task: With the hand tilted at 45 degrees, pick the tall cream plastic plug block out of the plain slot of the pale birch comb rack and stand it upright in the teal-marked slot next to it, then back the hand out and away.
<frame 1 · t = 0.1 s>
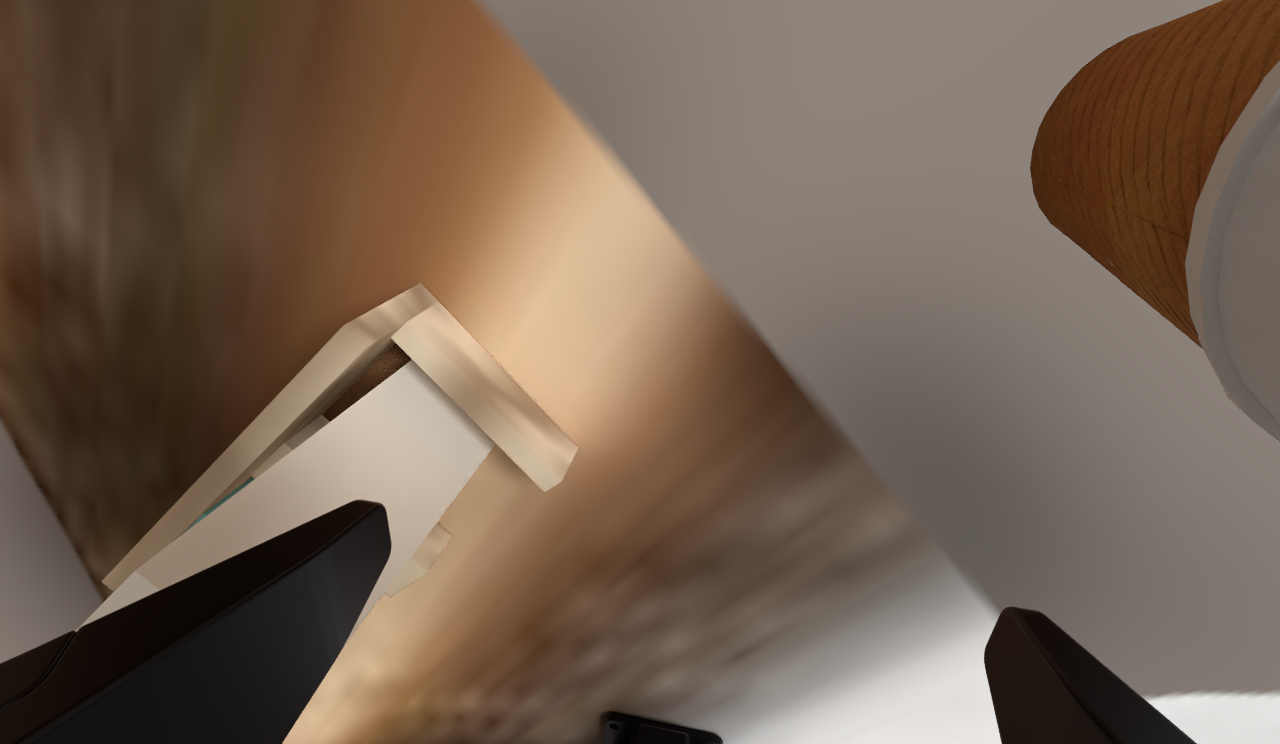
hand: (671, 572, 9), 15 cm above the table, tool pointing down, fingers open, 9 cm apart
comb rack: (360, 481, 29), on the table
disposable coffee cup: (1143, 143, 18), on the table
plug block: (427, 424, 27), on the table
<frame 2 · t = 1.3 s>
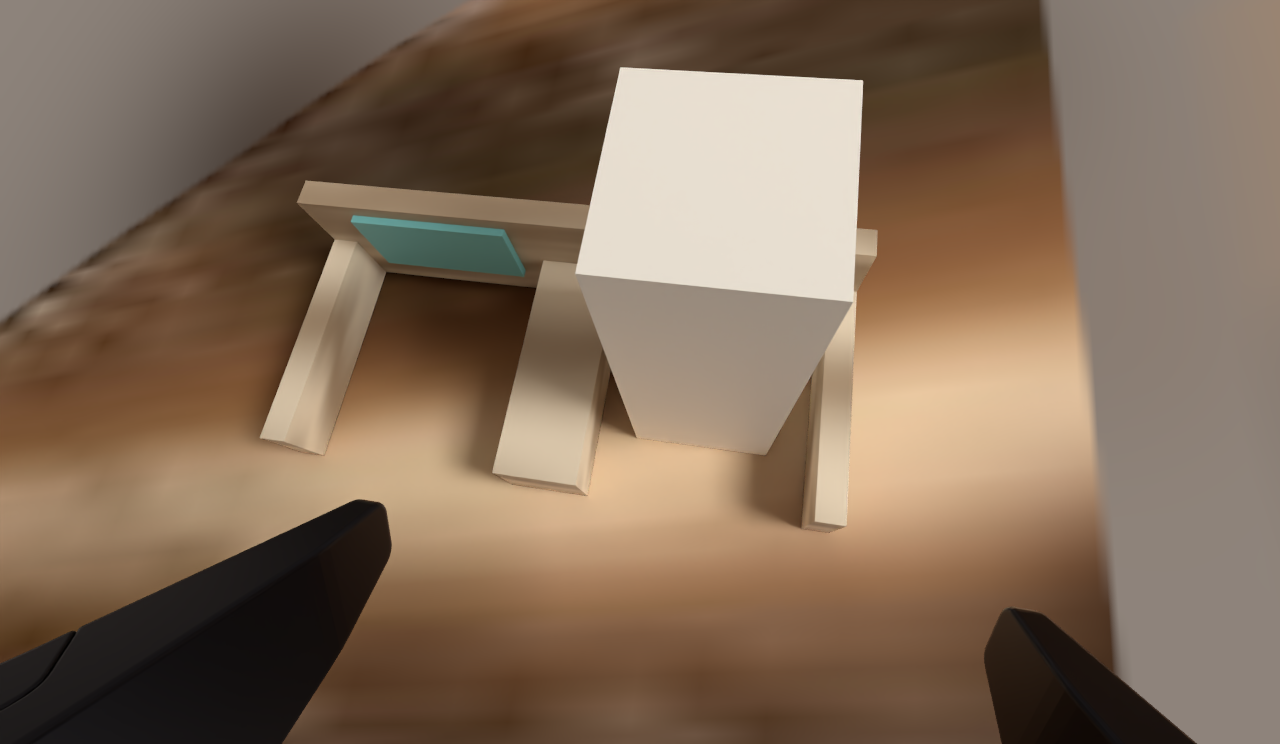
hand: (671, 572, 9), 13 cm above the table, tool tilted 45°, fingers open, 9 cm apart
comb rack: (574, 369, 24), on the table
plug block: (708, 385, 24), on the table
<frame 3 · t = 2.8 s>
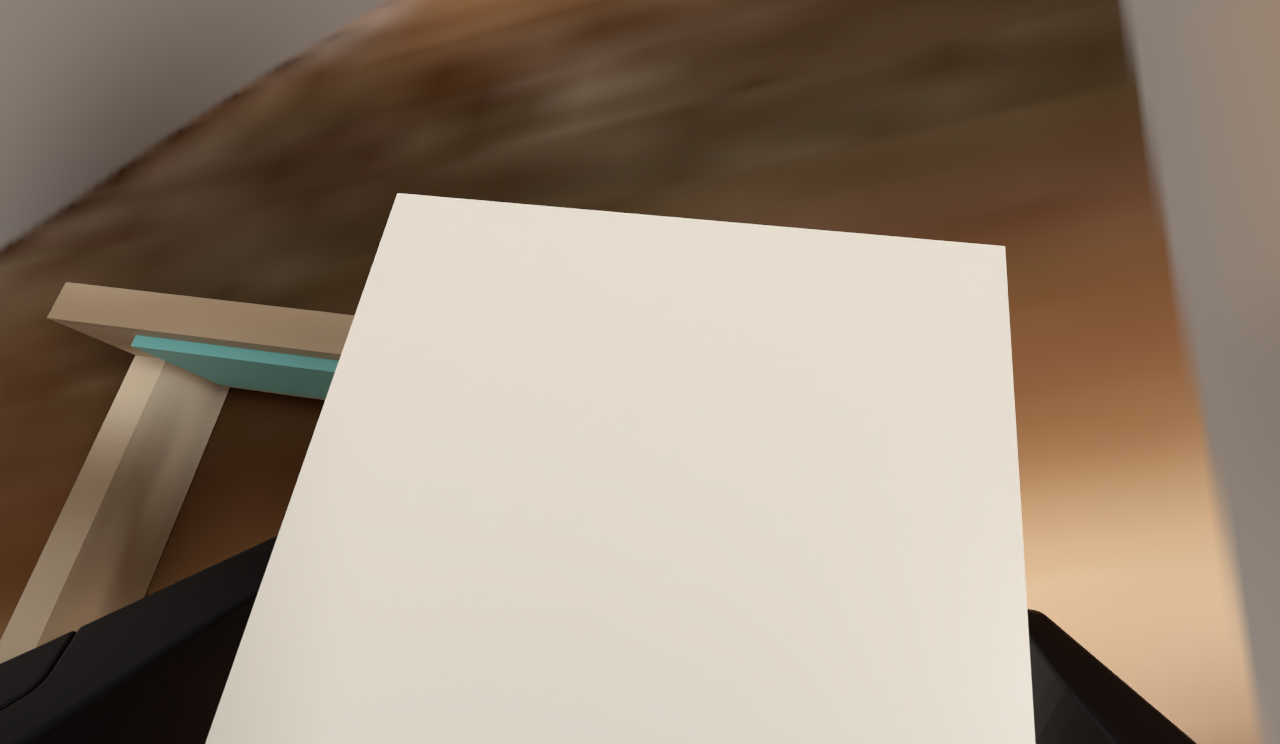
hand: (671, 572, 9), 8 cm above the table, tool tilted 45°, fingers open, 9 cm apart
comb rack: (482, 542, 17), on the table
plug block: (673, 573, 16), on the table
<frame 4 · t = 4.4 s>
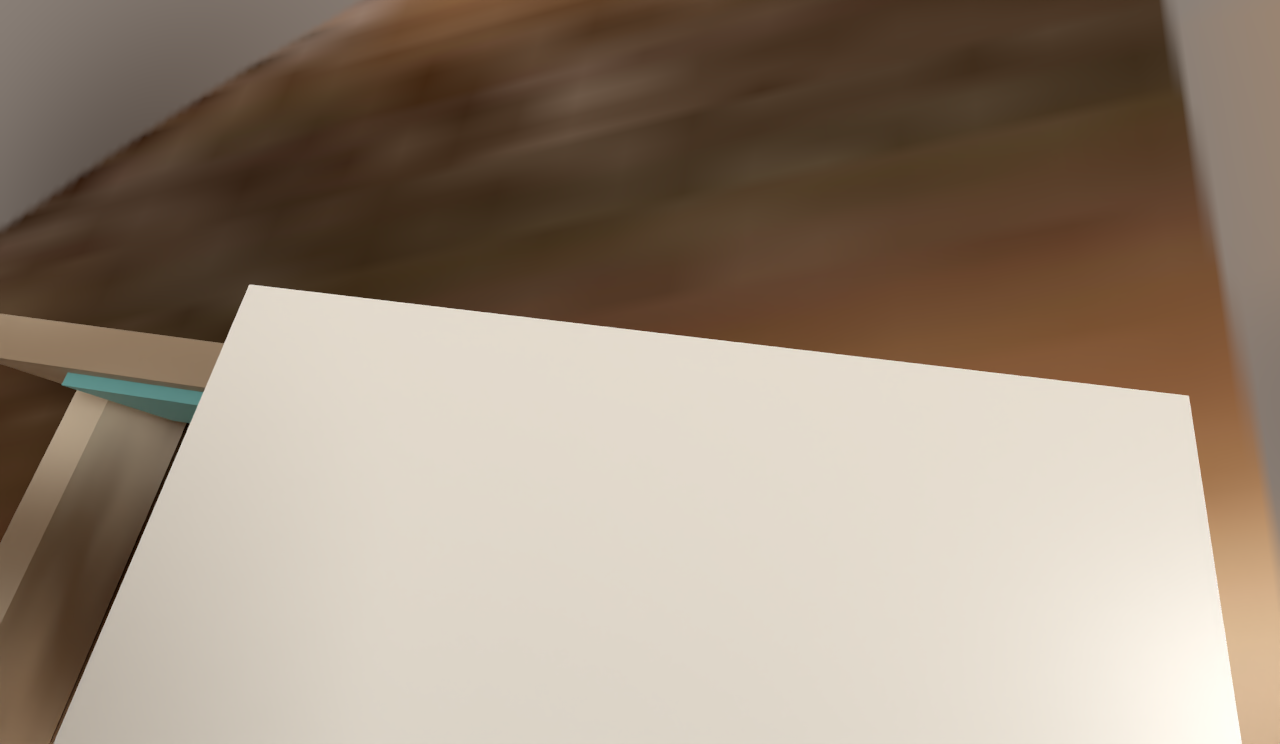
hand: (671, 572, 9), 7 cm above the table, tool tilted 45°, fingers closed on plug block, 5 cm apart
comb rack: (459, 599, 15), on the table
plug block: (670, 637, 14), on the table, touching gripper
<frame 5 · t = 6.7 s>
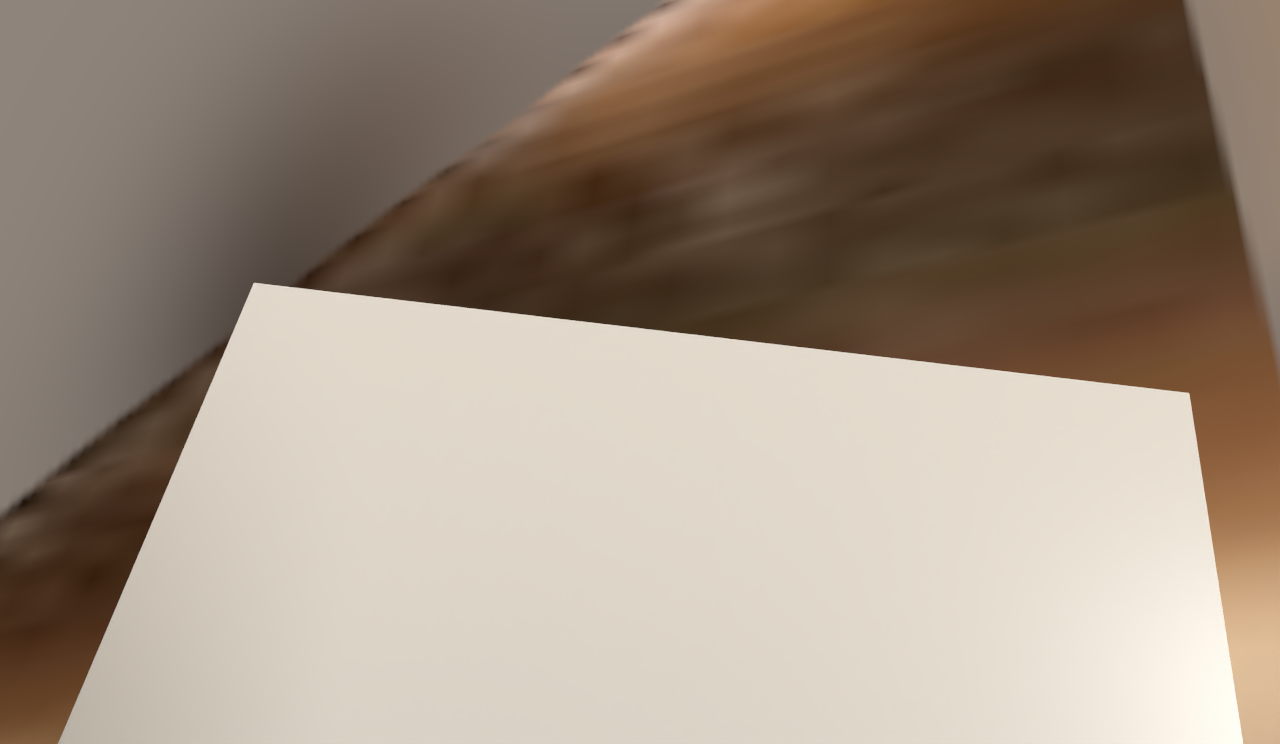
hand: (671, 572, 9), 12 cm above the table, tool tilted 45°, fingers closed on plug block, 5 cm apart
plug block: (671, 637, 15), point 5 cm above the table, touching gripper
when the fingers open (8 cm above the table, at t = 9.3 s): plug block stays where it is, on the table.
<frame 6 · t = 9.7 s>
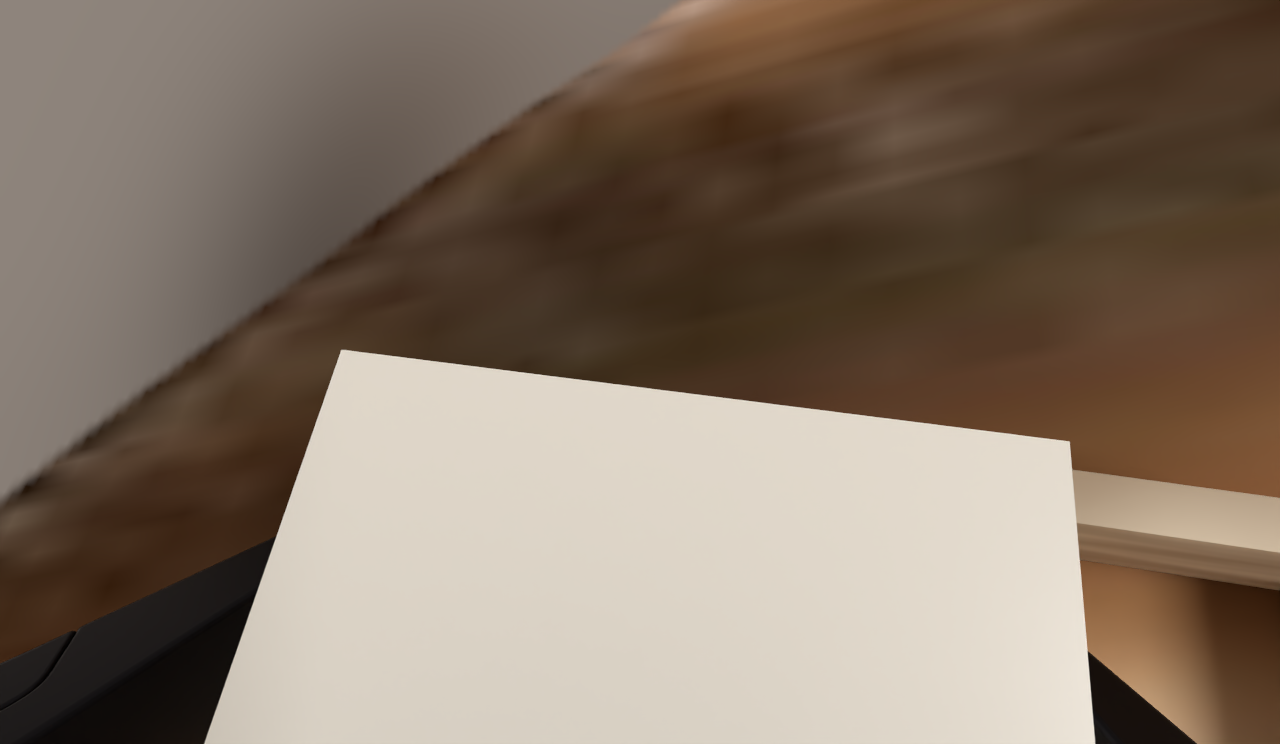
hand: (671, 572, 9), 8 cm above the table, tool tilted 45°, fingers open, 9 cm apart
comb rack: (889, 673, 15), on the table
plug block: (672, 634, 15), on the table
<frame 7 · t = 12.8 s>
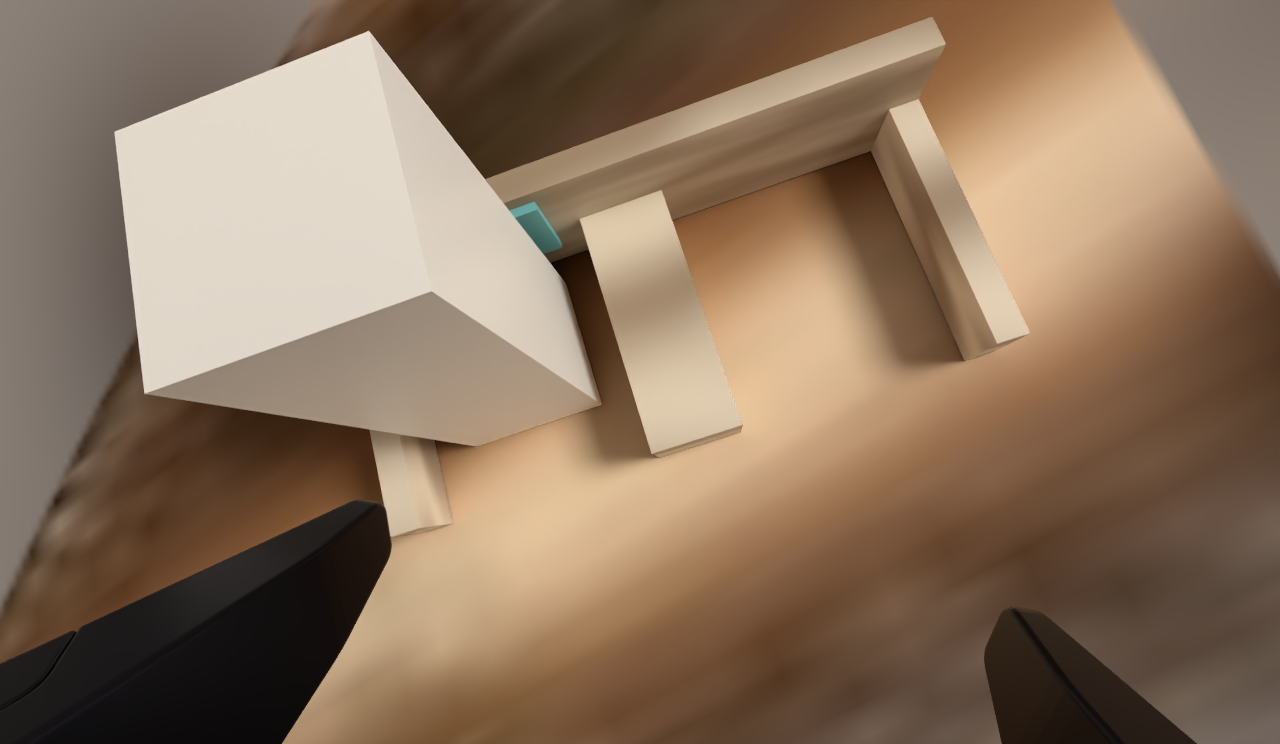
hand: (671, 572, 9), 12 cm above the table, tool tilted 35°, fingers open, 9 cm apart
comb rack: (658, 316, 22), on the table
plug block: (522, 363, 22), on the table
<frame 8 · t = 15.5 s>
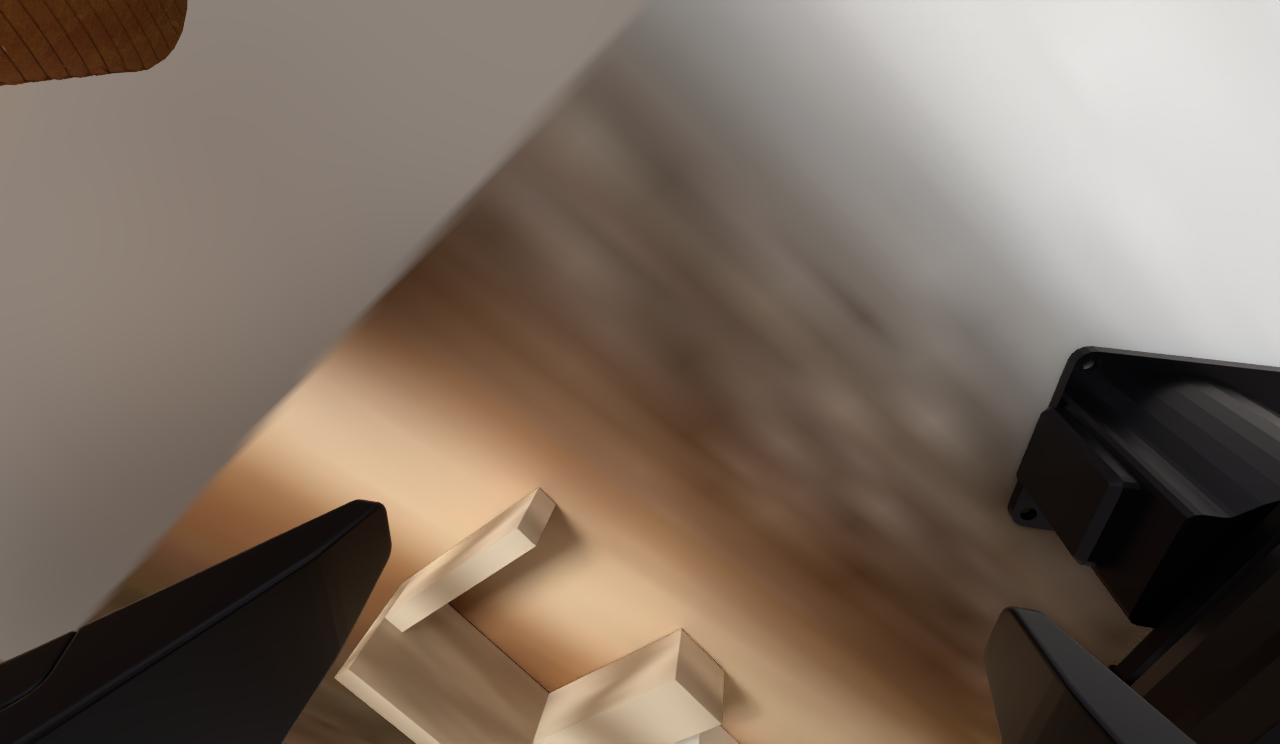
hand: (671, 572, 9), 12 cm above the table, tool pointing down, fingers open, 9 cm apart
comb rack: (620, 688, 28), on the table
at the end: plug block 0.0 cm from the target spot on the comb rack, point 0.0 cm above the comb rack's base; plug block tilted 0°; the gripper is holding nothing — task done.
